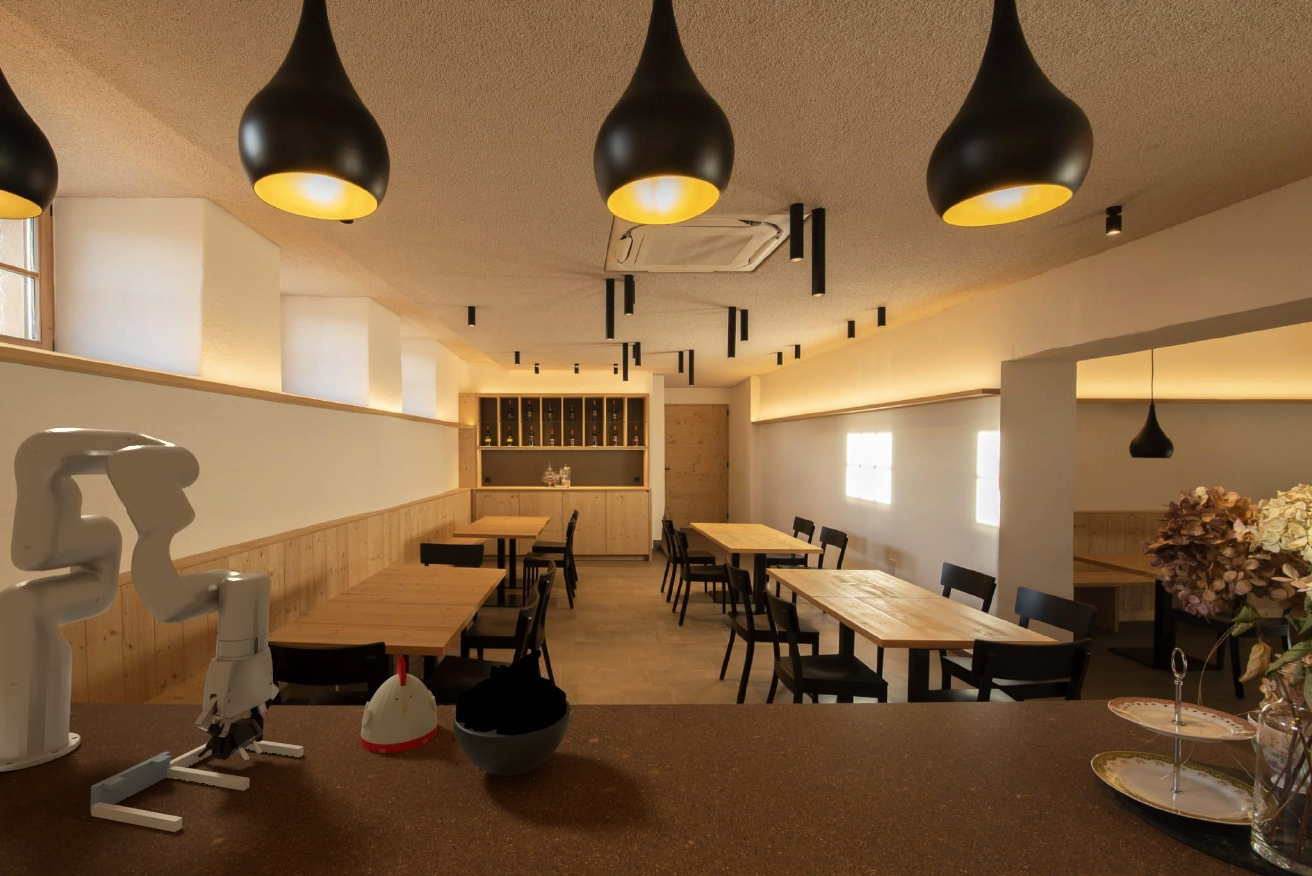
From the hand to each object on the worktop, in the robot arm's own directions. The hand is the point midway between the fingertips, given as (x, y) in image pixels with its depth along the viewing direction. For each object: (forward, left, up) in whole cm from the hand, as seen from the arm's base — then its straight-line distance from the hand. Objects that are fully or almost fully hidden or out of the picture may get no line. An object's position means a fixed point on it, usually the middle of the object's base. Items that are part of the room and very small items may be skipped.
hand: (237, 748), depth 104 cm
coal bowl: (+47, +11, -3) cm, 48 cm away
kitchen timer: (+20, +17, -3) cm, 26 cm away
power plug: (-2, 0, -2) cm, 3 cm away
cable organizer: (0, -5, -3) cm, 6 cm away
